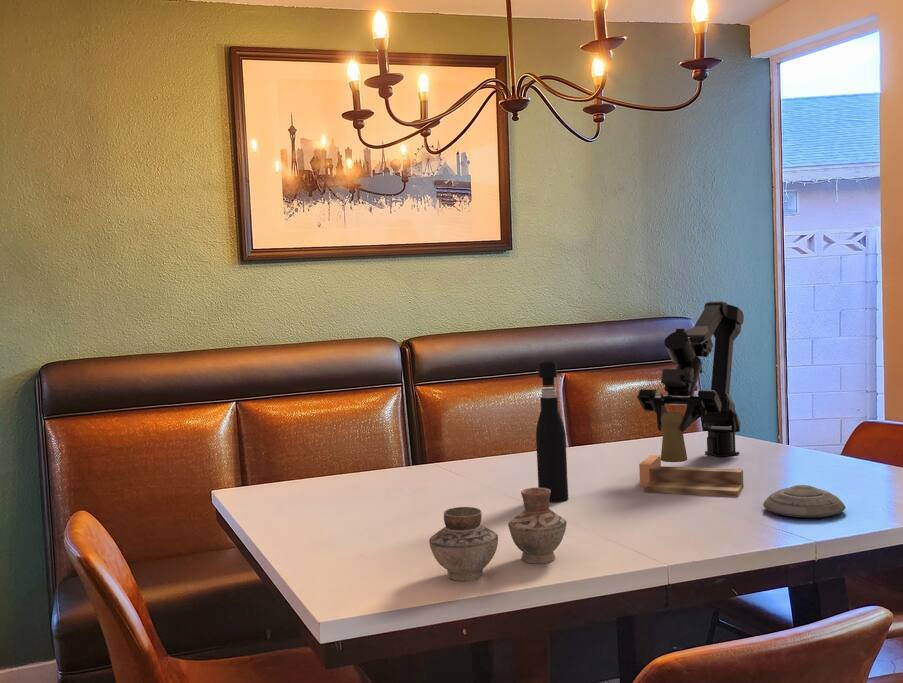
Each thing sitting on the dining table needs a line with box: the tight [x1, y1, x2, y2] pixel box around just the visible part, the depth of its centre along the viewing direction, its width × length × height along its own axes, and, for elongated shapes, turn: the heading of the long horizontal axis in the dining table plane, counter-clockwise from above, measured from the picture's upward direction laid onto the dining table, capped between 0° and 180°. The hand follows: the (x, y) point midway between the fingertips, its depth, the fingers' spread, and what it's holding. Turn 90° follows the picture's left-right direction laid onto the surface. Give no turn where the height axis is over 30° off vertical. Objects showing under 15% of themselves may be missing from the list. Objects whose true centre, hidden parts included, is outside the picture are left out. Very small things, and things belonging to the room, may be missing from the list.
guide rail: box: [638, 454, 745, 498], centre depth 204 cm, size 22×17×5 cm
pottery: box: [428, 487, 568, 582], centre depth 151 cm, size 11×25×12 cm, turn 119°
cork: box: [660, 411, 688, 463], centre depth 210 cm, size 6×6×11 cm
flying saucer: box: [762, 484, 846, 519], centre depth 177 cm, size 15×15×6 cm
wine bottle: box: [535, 360, 569, 504], centre depth 197 cm, size 6×6×30 cm
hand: (670, 430), depth 208 cm, fingers closed on cork, 5 cm apart
